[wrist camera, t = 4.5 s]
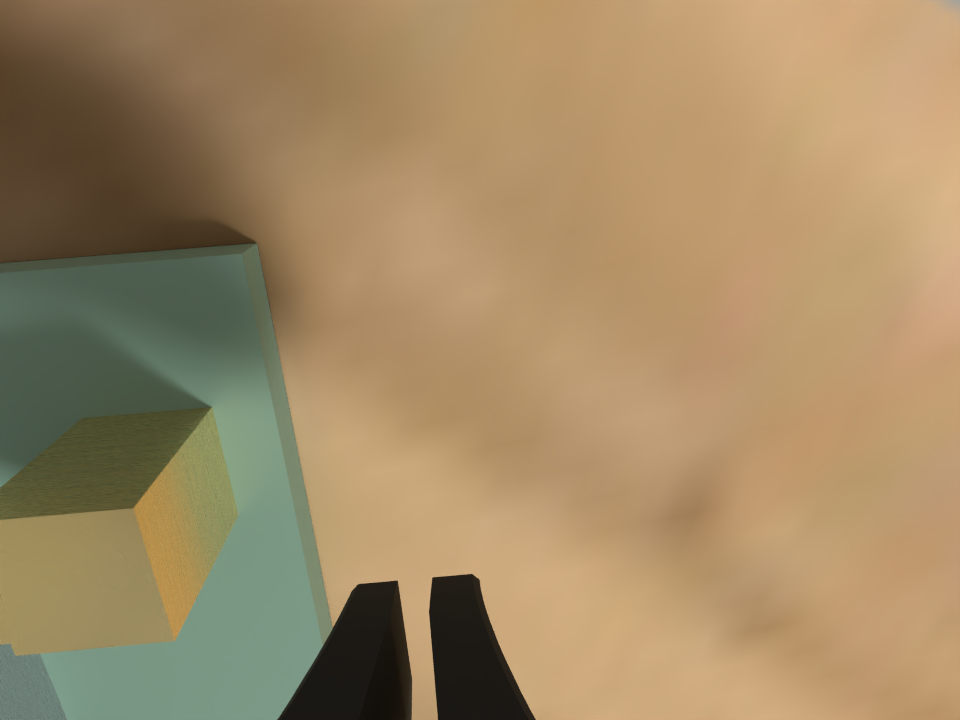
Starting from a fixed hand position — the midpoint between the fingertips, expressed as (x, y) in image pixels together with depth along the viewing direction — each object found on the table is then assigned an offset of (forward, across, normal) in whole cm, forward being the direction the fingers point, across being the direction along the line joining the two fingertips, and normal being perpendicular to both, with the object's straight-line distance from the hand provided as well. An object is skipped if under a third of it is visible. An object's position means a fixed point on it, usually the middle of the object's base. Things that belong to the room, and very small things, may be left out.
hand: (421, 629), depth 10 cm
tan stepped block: (+6, +8, 0) cm, 10 cm away
